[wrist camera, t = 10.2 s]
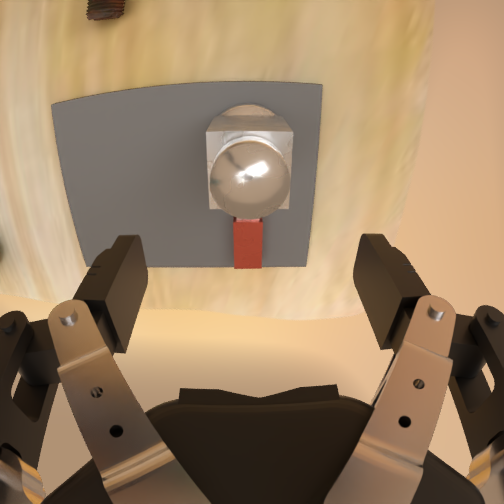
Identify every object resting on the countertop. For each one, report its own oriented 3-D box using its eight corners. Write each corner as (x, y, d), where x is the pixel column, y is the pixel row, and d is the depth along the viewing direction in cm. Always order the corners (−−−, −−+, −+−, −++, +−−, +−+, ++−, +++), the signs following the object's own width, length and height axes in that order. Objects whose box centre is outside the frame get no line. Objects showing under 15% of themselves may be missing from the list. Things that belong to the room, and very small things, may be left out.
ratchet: (215, 259, 32) (211, 293, 28) (208, 103, 24) (200, 112, 20) (279, 258, 32) (285, 292, 28) (287, 103, 24) (297, 112, 20)
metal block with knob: (216, 176, 25) (206, 224, 19) (215, 115, 22) (201, 139, 16) (279, 176, 25) (292, 224, 19) (281, 115, 23) (298, 139, 16)
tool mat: (89, 262, 33) (86, 266, 32) (55, 103, 23) (51, 104, 23) (304, 262, 34) (306, 266, 33) (320, 84, 24) (322, 84, 23)
